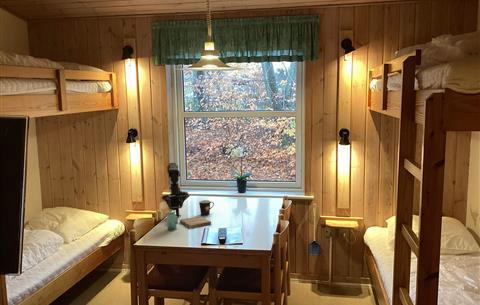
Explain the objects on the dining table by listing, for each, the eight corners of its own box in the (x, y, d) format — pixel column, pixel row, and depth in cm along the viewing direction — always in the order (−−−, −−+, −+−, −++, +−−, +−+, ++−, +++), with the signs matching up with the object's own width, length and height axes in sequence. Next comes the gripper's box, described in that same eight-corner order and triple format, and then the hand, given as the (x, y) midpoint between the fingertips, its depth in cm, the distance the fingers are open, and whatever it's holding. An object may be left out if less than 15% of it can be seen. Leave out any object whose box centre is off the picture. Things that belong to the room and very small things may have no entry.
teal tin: (166, 229, 307) (165, 210, 305) (174, 227, 310) (173, 209, 308) (169, 231, 301) (168, 212, 299) (178, 229, 304) (177, 211, 302)
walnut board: (180, 222, 322) (180, 219, 322) (200, 218, 330) (200, 215, 329) (189, 228, 306) (189, 225, 306) (211, 224, 314) (211, 221, 314)
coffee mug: (200, 216, 336) (199, 203, 334) (198, 213, 344) (198, 200, 343) (215, 215, 338) (215, 202, 336) (214, 212, 346) (213, 199, 345)
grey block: (168, 223, 321) (168, 216, 321) (175, 221, 324) (174, 215, 323) (170, 224, 317) (170, 217, 316) (177, 223, 319) (177, 216, 319)
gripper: (191, 185, 322) (193, 207, 318) (169, 190, 329) (171, 211, 325) (183, 183, 312) (185, 205, 308) (161, 188, 319) (162, 209, 315)
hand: (176, 208), depth 314 cm, fingers open, 9 cm apart
